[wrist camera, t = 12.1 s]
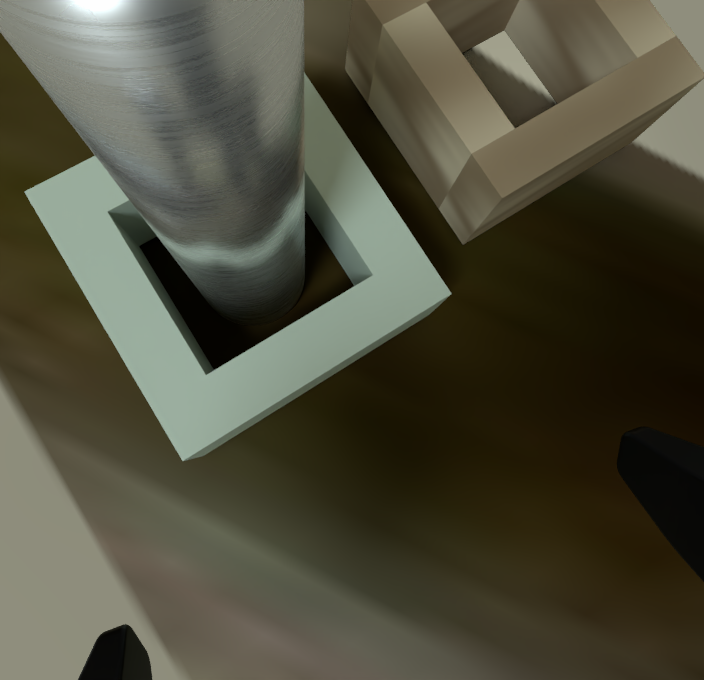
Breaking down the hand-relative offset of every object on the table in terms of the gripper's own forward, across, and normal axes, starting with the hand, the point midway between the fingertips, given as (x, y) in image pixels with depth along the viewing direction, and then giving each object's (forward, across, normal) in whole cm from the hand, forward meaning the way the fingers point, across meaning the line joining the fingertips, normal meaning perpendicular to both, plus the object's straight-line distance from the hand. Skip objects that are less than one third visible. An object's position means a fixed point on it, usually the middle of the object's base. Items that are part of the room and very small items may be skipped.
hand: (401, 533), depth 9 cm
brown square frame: (+14, -10, -4) cm, 17 cm away
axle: (+12, 0, 0) cm, 12 cm away
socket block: (+12, 0, 0) cm, 12 cm away
